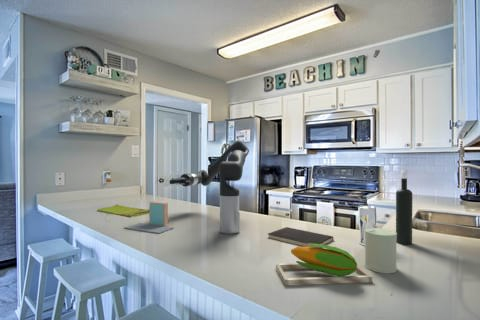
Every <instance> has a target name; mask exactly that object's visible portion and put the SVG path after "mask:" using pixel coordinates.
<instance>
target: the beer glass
mask: <svg viewBox="0 0 480 320" xmlns="http://www.w3.org/2000/svg"><path fill="white" fill-rule="evenodd" d="M357 209H358V210H357V224H358V230H359V239H358V243H359V245H361V246H364V247H365V229H367V228H377V221H378V220H377V217H378V216H377V207H376V206H371V205H358V207H357Z"/></svg>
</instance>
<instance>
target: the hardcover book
mask: <svg viewBox="0 0 480 320" xmlns="http://www.w3.org/2000/svg"><path fill="white" fill-rule="evenodd" d="M267 235H268V238H270V239H272V240H273V239H274V240H277V241H281V242H286V243H290V244H292V245H293V244H295V245H298V246H300V247H319V246H314V245H309V244H308V243H312V244H321V245H327V244H328V243H330V242H332V241H334V236H333V235H327V234H323V233H319V232H313V231H308V230H302V229H297V228H293V227H288V226H286V227H283V228H280V229H277V230H274V231H271V232H268V233H267ZM319 248H320V247H319Z"/></svg>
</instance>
